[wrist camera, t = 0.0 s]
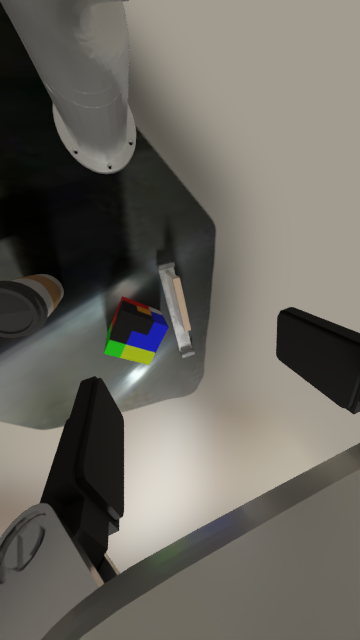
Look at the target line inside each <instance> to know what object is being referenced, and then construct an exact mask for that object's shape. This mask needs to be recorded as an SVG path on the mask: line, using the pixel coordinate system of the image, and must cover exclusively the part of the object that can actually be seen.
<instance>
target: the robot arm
mask: <svg viewBox="0 0 360 640" xmlns="http://www.w3.org/2000/svg"><path fill="white" fill-rule="evenodd" d="M122 1H129V0H0V2H1V4H2V5H3V7H4V9H5V11H6V12H7V14H8V16H9V18H10V20H11V21H12V23H13V25H14V27H15V29H16V31H17V33H18V35H19V37H20V38H21V40H22V42H23V44H24V46H25V48H26V50H27V52H28V54H29V56H30V58H31V60H32V62H33V64H34V66H35V68H36V70H37V72H38V74H39V76H40V78H41V79H42V81H43V83H44V85H45V87H46V89H47V91H48V93H49V95H50V97H51V99H52V101H53V115H54V121H55V125H56V128H57V131H58V133H59V135H60V137H61V140H62V141H63V143H64V145H65V146H66V148H67V149H68V151H69V152H70V153H71V155H72V156H73V157H74V158H75V159H76V160H77V161H78V162H79V163H81V164H82V165H83V166H85V167H86V168H88V169H90V170H92V171H94V172H97V173H102V174H111V173H115V172H118V171H120V170H122V169H123V168H124V167H125V166H126V165H127V164H128V163H129V161H130V160H131V158H132V156H133V153H134V150H135V144H136V128H135V122H134V118H133V114H132V112H131V109H130V106H129V104H128V77H129V36H128V27H127V21H126V15H125V10H124V6H123V2H122ZM129 143H131V144H132V146H131V145H129ZM75 152H78V154H75ZM109 167H111V169H109ZM276 347H277V348H276V355H277V358H278V359H279V360H280V361H281V362H282V363H284V364H285V365H287V366H288V367H289V368H290V369H292V370H293V371H294V372H296V373H297V374H298V375H300V376H301V377H302V378H303V379H305V380H306V381H307V382H309V383H310V384H311V385H313V386H314V387H315V388H317V389H318V390H319V391H320V392H322V393H323V394H324V395H326V396H327V397H328V398H330V399H331V400H332V401H333V402H335V403H336V404H337V405H339V406H340V407H342V408H346V409H347V410H349V411H350V412H351V413H352V414H356V413H358V412H360V333H358V332H355V331H353V330H350V329H348V328H345V327H342V326H340V325H337V324H335V323H332V322H330V321H327V320H325V319H322V318H319V317H317V316H314V315H312V314H309V313H307V312H304V311H302V310H299V309H296V308H294V307H290V308H287V309H284V310H281V311H280V313H279V315H278V318H277V346H276ZM123 513H124V419H123V416H122V414H121V412H120V410H119V408H118V407H117V405H116V403H115V401H114V400H113V398H112V396H111V394H110V392H109V391H108V389H107V387H106V385H105V383H104V382H103V380H102V379H101V378H97V377H95V376H94V377H91V378H89V379H86V380H83V381H81V383H80V386H79V389H78V392H77V396H76V399H75V402H74V405H73V409H72V412H71V415H70V418H69V419H68V420H67V421H66V423H65V426H64V429H63V432H62V435H61V438H60V442H59V445H58V448H57V451H56V454H55V457H54V460H53V464H52V466H51V470H50V473H49V476H48V479H47V482H46V485H45V488H44V491H43V494H42V498H41V501H40V503H39V504H37V505H34V506H32V507H30V508H29V509H27V510H25V511H24V512H23V513H22V514H21V515H19V516H18V517H17V518H16V519H15V520H14V521H13V522H12V523H11V524H10V526H9V527H8V528H7V529H6V530H5V532H4V533H3V534H2V536H1V537H0V640H360V443H359V444H357V445H355V446H353V447H351V448H349V449H347V450H346V451H344V452H342V453H340V454H338V455H336V456H334V457H332V458H330V459H328V460H327V461H325V462H323V463H321V464H319V465H317V466H315V467H313V468H312V469H310V470H308V471H306V472H304V473H302V474H300V475H298V476H296V477H294V478H293V479H291V480H289V481H287V482H285V483H283V484H281V485H279V486H277V487H276V488H274V489H272V490H270V491H268V492H266V493H264V494H262V495H261V496H259V497H257V498H255V499H253V500H251V501H249V502H248V503H246V504H244V505H242V506H240V507H238V508H237V509H235V510H233V511H231V512H229V513H227V514H225V515H223V516H221V517H220V518H218V519H216V520H214V521H212V522H210V523H208V524H207V525H205V526H203V527H201V528H199V529H197V530H195V531H194V532H192V533H190V534H188V535H186V536H185V537H183V538H181V539H179V540H177V541H176V542H174V543H172V544H170V545H169V546H167V547H165V548H163V549H161V550H160V551H158V552H156V553H154V554H153V555H151V556H149V557H147V558H145V559H144V560H142V561H140V562H139V563H137V564H135V565H133V566H131V567H130V568H128V569H127V570H125V571H124V572H122V573H121V574H120V572H119V571H118V570H117V568H116V567H115V565H114V564H113V562H112V561H111V559H110V558H109V557H108V555H107V554H106V551H107V549H108V536H109V535H111V534H113V533H115V532H117V531H119V518H121V517H123Z"/></svg>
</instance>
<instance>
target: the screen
mask: <svg viewBox="0 0 360 640" xmlns="http://www.w3.org/2000/svg"><path fill="white" fill-rule="evenodd" d="M165 276H166V280H167V284H168V288H169V292H170V296H171V300H172V304H173V308H174V312H175V316H176V318H177V320H178V321H179V323H180V324H181V326H182V327H183V329H184V331H185V332H186V331H189V330H191V328H190V323H189V319H188V314H187V310H186V305H185V300H184V296H183V291H182V286H181V282H180V277H178V276H176V275H175V274H173V273H172V272H170V271H169V272H165Z"/></svg>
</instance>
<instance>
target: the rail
mask: <svg viewBox="0 0 360 640" xmlns="http://www.w3.org/2000/svg"><path fill="white" fill-rule="evenodd" d="M156 265H157V269H158V272H159V276H160V280H161V284H162V287H163V291H164V295H165V299H166V302H167V306H168V310H169V314H170V317H171V321H172V325H173V329H174V332H175V336H176V340H177V344H178V347H179V351H180V354H181V356H182V358H185V357H188V356H190V355H193V354H194V351H193V349H192V346H191V342H190V338H189V333H188V331H186V332H185V331H184V329H183V327H182V326H181V324H180V323H179V321H178V320H177V318H176V316H175V312H174V308H173V304H172V300H171V296H170V292H169V288H168V284H167V280H166V276H165V272H169V271H170V272H172V273H173V274H175V271H174V267H175V264H174V262H173V261H168V262H164V263H160V264H156Z"/></svg>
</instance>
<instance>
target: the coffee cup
mask: <svg viewBox="0 0 360 640" xmlns="http://www.w3.org/2000/svg"><path fill="white" fill-rule="evenodd" d="M63 293H64V291H63V287H62V285H61V283H60V282H59V281H58V280H57V279H56V278H54V277H52V276H50V275H47V274H38V275H31V276H26V277H22V278H17V279H13V280H10V281H0V336H1V337H8V338H14V337H20V336H25V335H29V334H31V333H33V332H35V331H37V330H38V329H39V328H41V327H42V326H43V325H44V324H45V322H46V320H47V317H48V316H49V315H50V314H51V313H52V312H53V310H54V309H55V308H56V306H57V305H58V304H59V302H60V300H61V299H62V297H63Z"/></svg>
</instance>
